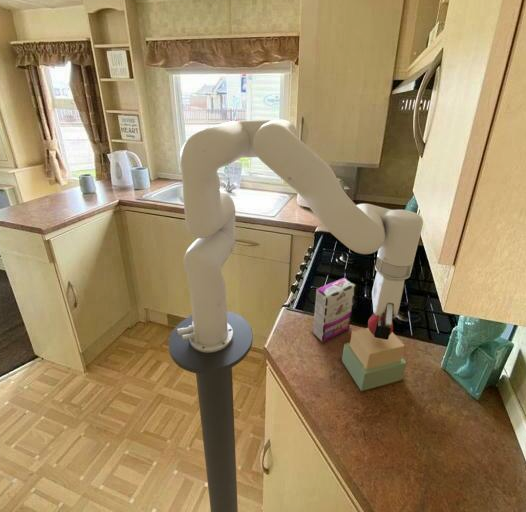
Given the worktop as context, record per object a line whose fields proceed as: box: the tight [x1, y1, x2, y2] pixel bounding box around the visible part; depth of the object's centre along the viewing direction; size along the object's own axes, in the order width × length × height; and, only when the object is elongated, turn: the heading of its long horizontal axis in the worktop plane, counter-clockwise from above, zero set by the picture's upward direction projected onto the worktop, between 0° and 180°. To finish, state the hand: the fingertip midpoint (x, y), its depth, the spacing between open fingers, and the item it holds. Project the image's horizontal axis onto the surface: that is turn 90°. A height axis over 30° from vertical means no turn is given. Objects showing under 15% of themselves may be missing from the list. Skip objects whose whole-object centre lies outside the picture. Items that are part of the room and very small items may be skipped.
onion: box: [367, 311, 394, 335], centre depth 77 cm, size 6×6×8 cm
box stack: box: [341, 327, 408, 392], centre depth 81 cm, size 12×10×11 cm
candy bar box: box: [312, 277, 356, 343], centre depth 92 cm, size 11×5×16 cm, turn 123°
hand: (379, 327), depth 77 cm, fingers closed on onion, 5 cm apart
